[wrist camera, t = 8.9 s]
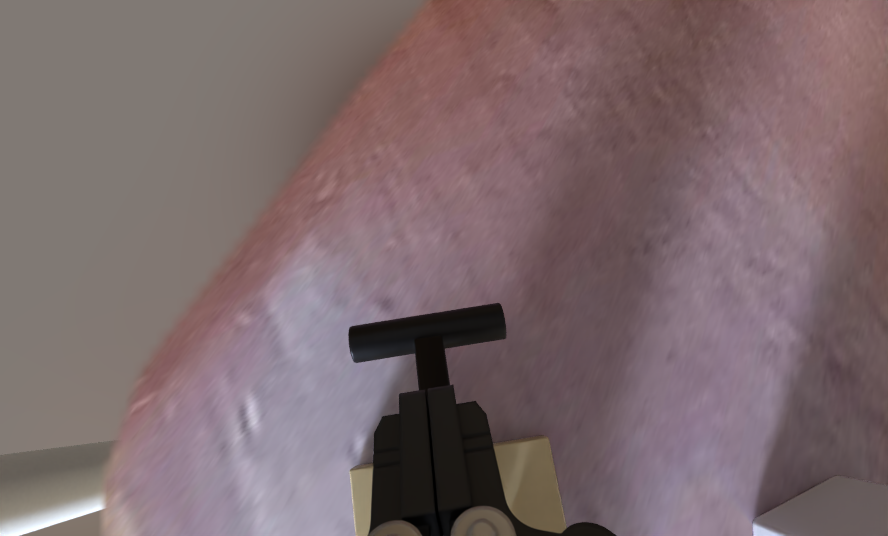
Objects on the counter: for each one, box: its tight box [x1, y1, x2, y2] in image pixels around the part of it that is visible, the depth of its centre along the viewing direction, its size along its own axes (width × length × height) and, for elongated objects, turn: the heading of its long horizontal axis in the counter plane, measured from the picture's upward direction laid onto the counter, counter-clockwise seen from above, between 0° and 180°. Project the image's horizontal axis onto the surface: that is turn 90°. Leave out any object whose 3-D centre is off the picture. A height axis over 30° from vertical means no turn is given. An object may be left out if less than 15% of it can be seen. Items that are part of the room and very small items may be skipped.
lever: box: [349, 303, 506, 403], centre depth 15 cm, size 14×6×2 cm, turn 9°
